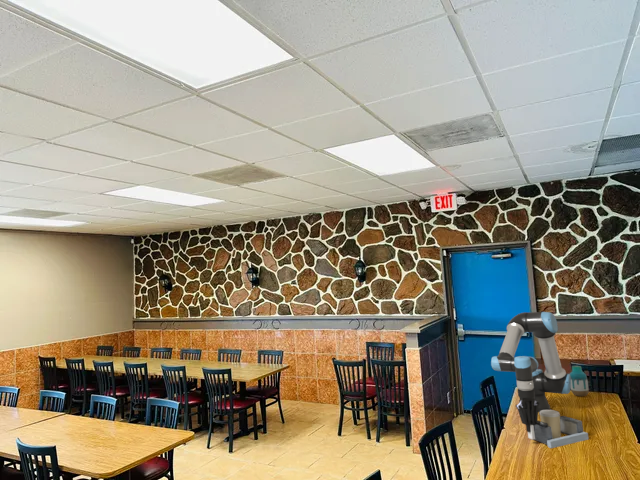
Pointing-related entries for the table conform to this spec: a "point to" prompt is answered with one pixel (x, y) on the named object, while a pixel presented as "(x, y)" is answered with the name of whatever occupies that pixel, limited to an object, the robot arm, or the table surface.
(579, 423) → the block
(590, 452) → the table surface
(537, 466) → the table surface
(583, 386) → the vase
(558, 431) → the coffee cup
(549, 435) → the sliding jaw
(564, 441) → the back rail
